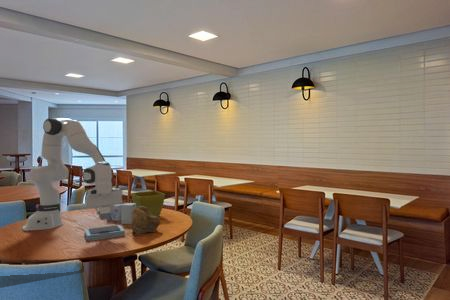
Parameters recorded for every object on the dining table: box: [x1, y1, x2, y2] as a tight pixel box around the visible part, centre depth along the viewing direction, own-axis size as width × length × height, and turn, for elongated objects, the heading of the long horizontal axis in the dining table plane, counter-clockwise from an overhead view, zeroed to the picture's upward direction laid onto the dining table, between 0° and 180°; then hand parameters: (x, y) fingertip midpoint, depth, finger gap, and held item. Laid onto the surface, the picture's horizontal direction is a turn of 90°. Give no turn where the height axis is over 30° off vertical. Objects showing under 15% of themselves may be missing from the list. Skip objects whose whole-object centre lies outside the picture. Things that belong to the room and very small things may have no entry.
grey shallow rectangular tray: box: [84, 224, 126, 242], centre depth 188 cm, size 20×14×4 cm
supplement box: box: [121, 202, 136, 225], centre depth 217 cm, size 7×7×13 cm
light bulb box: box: [106, 203, 124, 222], centre depth 226 cm, size 11×7×11 cm, turn 68°
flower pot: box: [130, 190, 166, 218], centre depth 234 cm, size 19×19×17 cm
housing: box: [98, 206, 110, 221], centre depth 188 cm, size 5×8×7 cm, turn 29°
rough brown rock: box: [130, 206, 161, 235], centre depth 196 cm, size 23×17×15 cm
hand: (104, 213), depth 188 cm, fingers closed on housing, 5 cm apart
